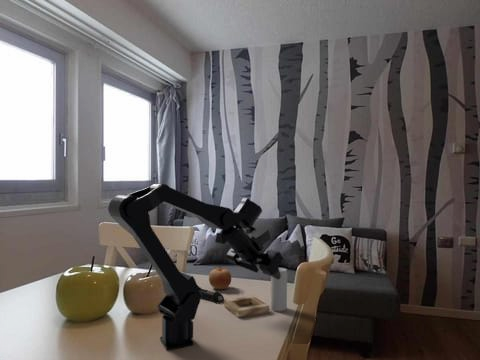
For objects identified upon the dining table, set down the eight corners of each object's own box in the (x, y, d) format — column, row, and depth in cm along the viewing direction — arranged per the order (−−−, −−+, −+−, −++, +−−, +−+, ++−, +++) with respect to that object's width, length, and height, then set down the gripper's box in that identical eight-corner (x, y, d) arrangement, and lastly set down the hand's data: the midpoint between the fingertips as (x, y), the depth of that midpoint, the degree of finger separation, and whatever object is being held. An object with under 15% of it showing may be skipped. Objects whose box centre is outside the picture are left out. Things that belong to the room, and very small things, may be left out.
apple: (207, 285, 131) (207, 263, 131) (229, 284, 133) (229, 263, 132) (209, 292, 123) (210, 269, 123) (232, 291, 125) (233, 268, 125)
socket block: (238, 318, 101) (238, 310, 101) (223, 306, 110) (224, 299, 110) (269, 312, 106) (269, 305, 105) (252, 301, 114) (252, 295, 114)
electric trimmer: (189, 292, 124) (189, 283, 124) (225, 301, 115) (225, 291, 115) (182, 295, 121) (181, 286, 121) (217, 304, 112) (217, 294, 112)
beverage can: (273, 312, 105) (274, 271, 105) (268, 307, 110) (268, 267, 110) (289, 311, 107) (289, 271, 106) (283, 305, 111) (283, 267, 111)
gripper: (278, 222, 94) (305, 258, 102) (234, 215, 109) (260, 247, 116) (256, 256, 89) (286, 291, 97) (213, 244, 104) (242, 276, 111)
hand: (268, 274), depth 105 cm, fingers open, 9 cm apart
